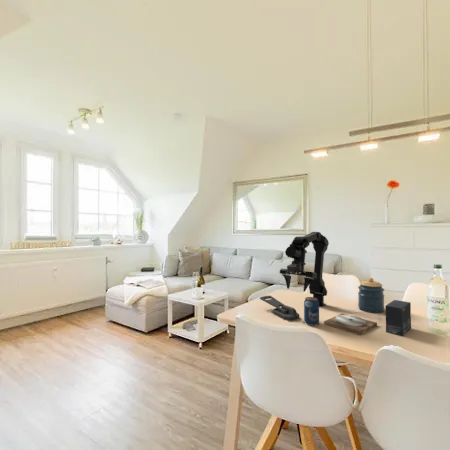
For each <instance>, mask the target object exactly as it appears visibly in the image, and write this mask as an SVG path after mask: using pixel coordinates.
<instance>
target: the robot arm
mask: <svg viewBox="0 0 450 450" xmlns="http://www.w3.org/2000/svg"><path fill="white" fill-rule="evenodd" d="M310 243H311V244H312V245H313V246H312V247H313V250H314V252H315V256H314V267H313V271H308V270H306V271H305V266H306V264H307V263H306V261H305V260H306V254H308V251H307V250H306V248H308V247H309V246H310ZM329 243H330V242H329V239H328V238H327V236H325V235H323V234H322V233H321V232H319V231H312V232H310V233H307V234H305V235H301V236H295V237H294V238H293V240H292V241H291V244H290V243H289V246H287V248H286V249H285V251H284V252H285V256H286V257H287V258H289V259H290V258H291V259H293V260H292V261H291V264H287V266H286V268H280V270H279V274H281V276H283V277H284V281H285V283H286V288H287V289H288V290H289V289H290V286H291V281H292V275H294V276H302V277H303V276H304V277H303V279H304V284H303V292H304V293H305V292H306V290H307V289H309V294H310V295H312V297H315V298H317V299H318V301H319V308H320V307H324V306H326V305H327V303H324V302H325V300H324V299H325V296H328V290H327V288H326V286H325V284H326V283H325V281H324V279H323V272H324V258H325V253H326V252H327V251H328V248H329V247H328V246H329Z"/></svg>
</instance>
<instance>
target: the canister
mask: <svg viewBox="0 0 450 450" xmlns="http://www.w3.org/2000/svg"><path fill="white" fill-rule="evenodd" d="M384 291H385V288H383V284H382V283H381V282H379V281H376V280H374V278H373V277H368V280H362V281H360V282H359V286H358V291H357V292H358V298H357V299H358V303H357V306H358V309H359V310H361V311H363V312H368V313H377V314H378V313H383V312H385V294H384Z"/></svg>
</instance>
